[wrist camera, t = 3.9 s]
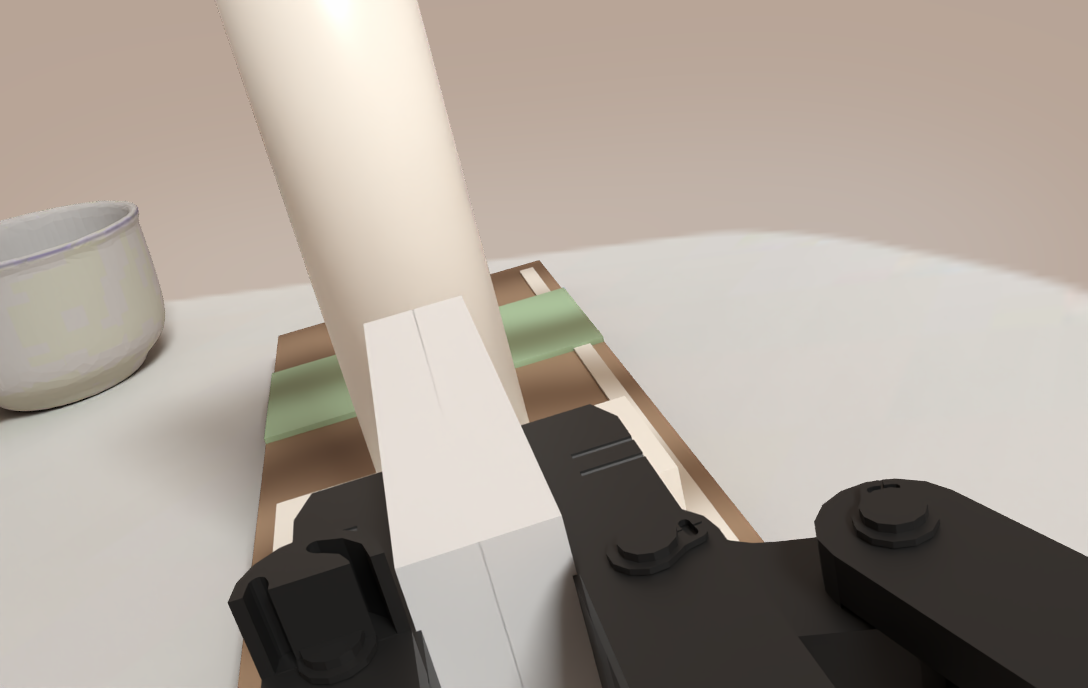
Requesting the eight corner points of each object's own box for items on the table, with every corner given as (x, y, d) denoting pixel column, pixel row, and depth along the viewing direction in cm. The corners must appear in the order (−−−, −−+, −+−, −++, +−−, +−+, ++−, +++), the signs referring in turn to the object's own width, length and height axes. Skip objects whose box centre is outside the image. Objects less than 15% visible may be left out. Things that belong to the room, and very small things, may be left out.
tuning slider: (693, 542, 22) (498, -415, 15) (299, 672, 21) (-101, -291, 14) (639, 462, 26) (463, -337, 19) (302, 570, 25) (-14, -234, 18)
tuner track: (851, 701, 19) (842, 633, 18) (246, 918, 18) (213, 853, 17) (546, 290, 45) (538, 256, 44) (289, 366, 43) (277, 331, 43)
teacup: (103, 334, 55) (44, 199, 52) (236, 334, 50) (178, 182, 47) (-145, 466, 45) (-238, 307, 42) (-12, 486, 39) (-108, 302, 36)
